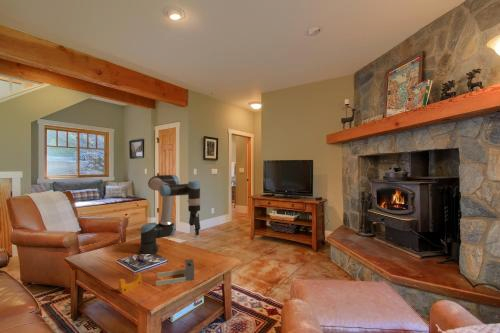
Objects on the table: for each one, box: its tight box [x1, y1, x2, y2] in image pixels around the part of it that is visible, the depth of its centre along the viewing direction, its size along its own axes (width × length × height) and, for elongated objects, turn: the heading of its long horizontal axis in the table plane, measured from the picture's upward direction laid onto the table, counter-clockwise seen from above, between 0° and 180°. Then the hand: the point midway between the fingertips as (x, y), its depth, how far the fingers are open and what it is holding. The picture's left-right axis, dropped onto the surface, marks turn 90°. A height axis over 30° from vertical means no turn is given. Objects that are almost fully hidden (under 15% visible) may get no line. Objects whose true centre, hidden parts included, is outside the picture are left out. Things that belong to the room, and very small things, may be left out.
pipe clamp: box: [118, 272, 143, 294], centre depth 138 cm, size 12×4×6 cm, turn 142°
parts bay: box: [155, 268, 187, 287], centre depth 149 cm, size 13×17×2 cm
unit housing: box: [184, 258, 195, 282], centre depth 153 cm, size 11×5×10 cm, turn 18°
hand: (194, 237), depth 154 cm, fingers open, 13 cm apart
